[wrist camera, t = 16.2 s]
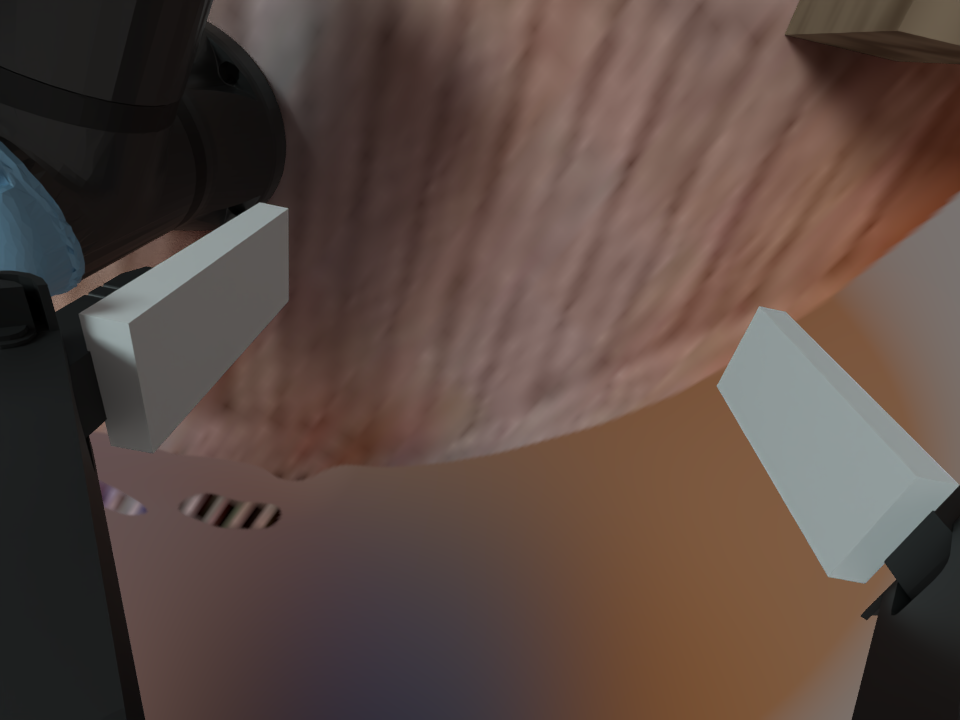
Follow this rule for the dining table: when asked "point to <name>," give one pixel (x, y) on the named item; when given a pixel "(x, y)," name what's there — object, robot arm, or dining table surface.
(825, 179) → the dining table surface
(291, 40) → the dining table surface
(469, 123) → the dining table surface
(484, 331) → the dining table surface
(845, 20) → the block
